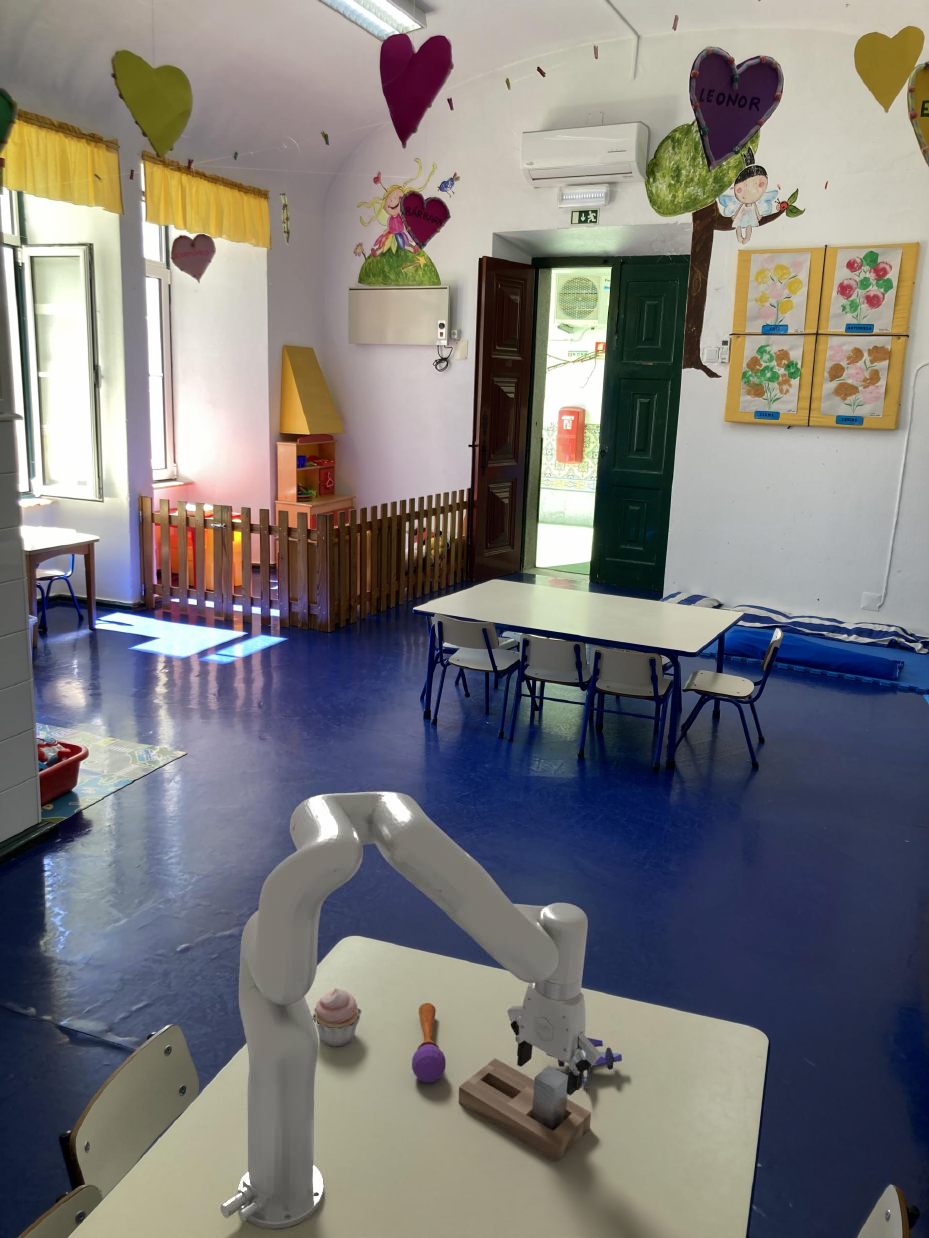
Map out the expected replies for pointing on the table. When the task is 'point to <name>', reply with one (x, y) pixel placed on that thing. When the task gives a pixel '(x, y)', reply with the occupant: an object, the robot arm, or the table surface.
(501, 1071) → the socket block
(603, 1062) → the toy airplane
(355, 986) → the table surface
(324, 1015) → the cupcake
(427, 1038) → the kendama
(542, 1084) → the square peg
